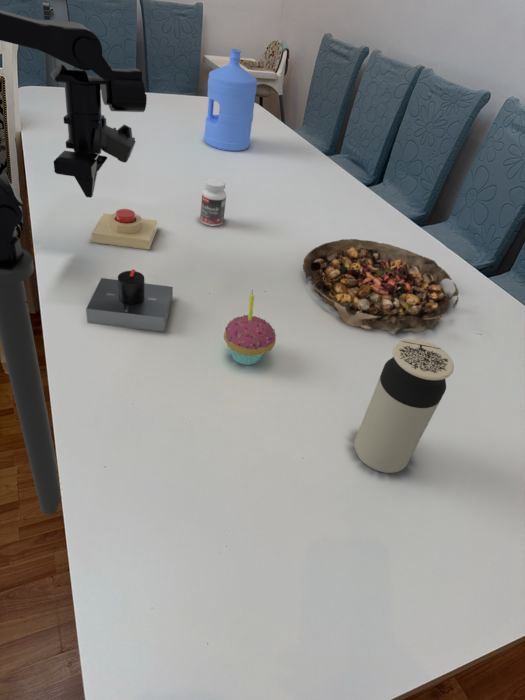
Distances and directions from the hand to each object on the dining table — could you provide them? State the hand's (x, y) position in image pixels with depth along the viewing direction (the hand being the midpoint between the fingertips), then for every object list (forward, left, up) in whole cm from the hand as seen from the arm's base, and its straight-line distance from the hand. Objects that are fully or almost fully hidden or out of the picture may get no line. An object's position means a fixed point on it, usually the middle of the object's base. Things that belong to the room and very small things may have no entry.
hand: (89, 196), depth 96 cm
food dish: (+61, 0, -12) cm, 62 cm away
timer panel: (+12, -19, -12) cm, 26 cm away
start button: (+5, +9, -8) cm, 13 cm away
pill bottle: (+23, +22, -12) cm, 34 cm away
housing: (+5, +9, -12) cm, 15 cm away
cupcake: (+33, -28, -12) cm, 45 cm away
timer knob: (+12, -19, -9) cm, 24 cm away
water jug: (+23, +84, -12) cm, 88 cm away
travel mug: (+53, -46, -12) cm, 71 cm away
